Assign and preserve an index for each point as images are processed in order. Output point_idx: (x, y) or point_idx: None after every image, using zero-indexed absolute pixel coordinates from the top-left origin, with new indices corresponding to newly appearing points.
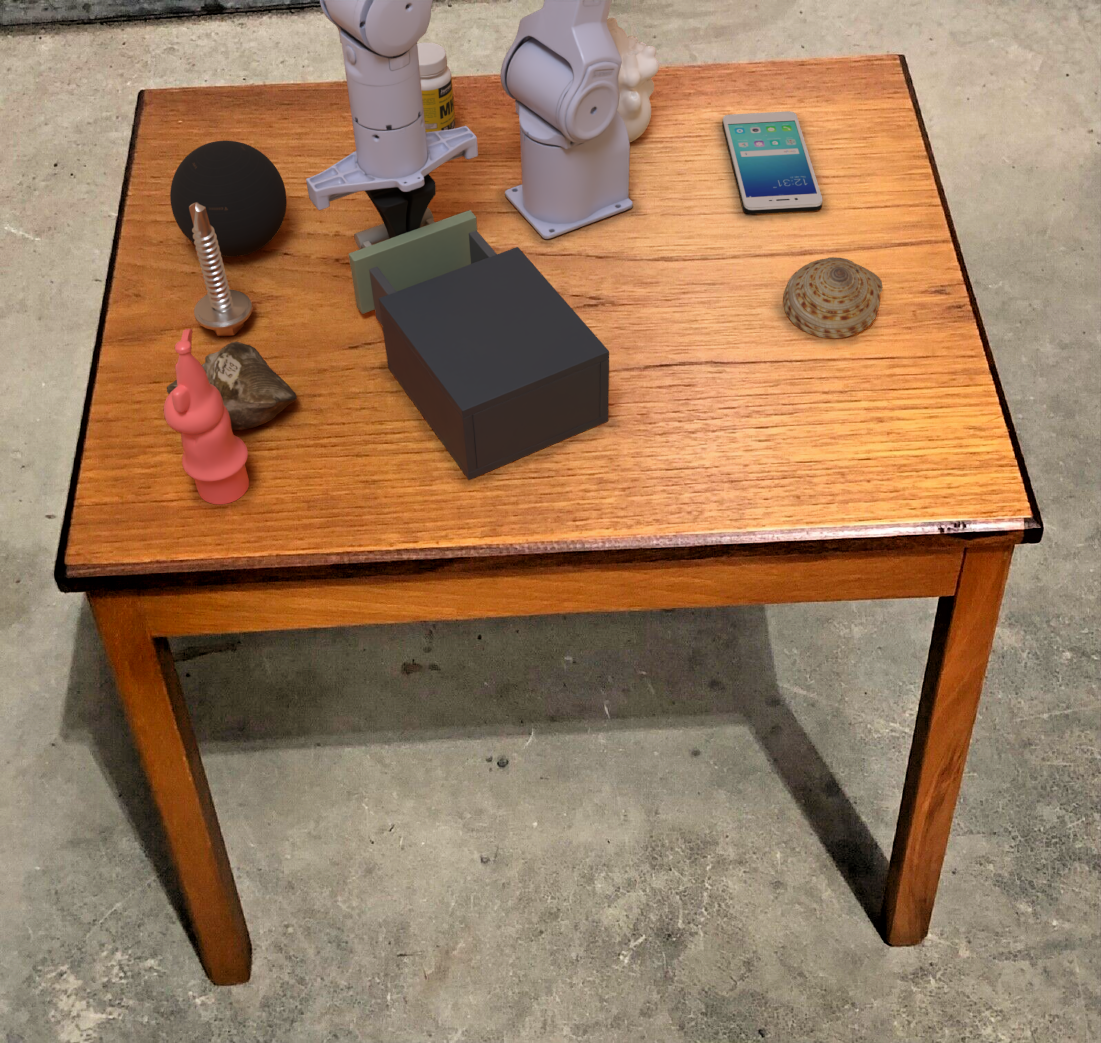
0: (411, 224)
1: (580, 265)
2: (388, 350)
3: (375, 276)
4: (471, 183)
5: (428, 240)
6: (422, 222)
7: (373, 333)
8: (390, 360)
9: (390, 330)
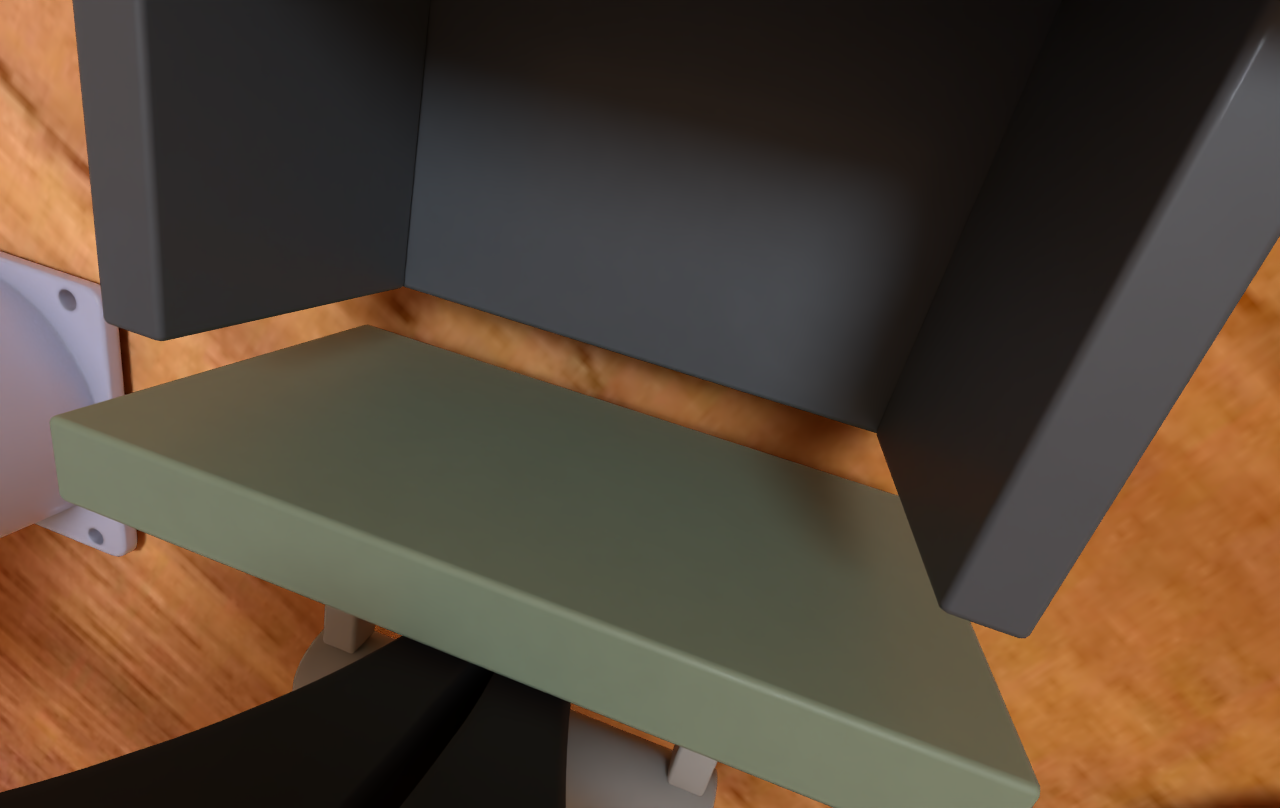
0: (422, 699)
1: (69, 83)
2: None
3: (1081, 535)
4: (199, 653)
5: (425, 518)
6: None
7: None
8: None
9: None
